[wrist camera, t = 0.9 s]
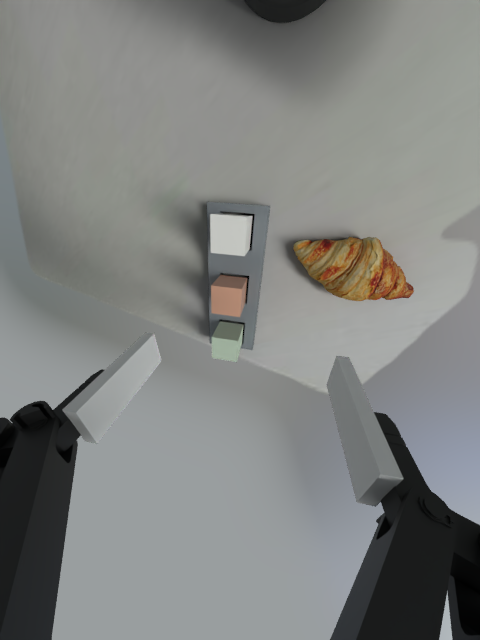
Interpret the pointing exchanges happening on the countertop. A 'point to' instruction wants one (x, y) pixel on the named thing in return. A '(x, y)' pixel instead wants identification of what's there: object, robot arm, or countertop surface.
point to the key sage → (227, 341)
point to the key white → (230, 234)
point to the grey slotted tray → (240, 267)
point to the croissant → (354, 268)
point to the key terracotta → (228, 295)
